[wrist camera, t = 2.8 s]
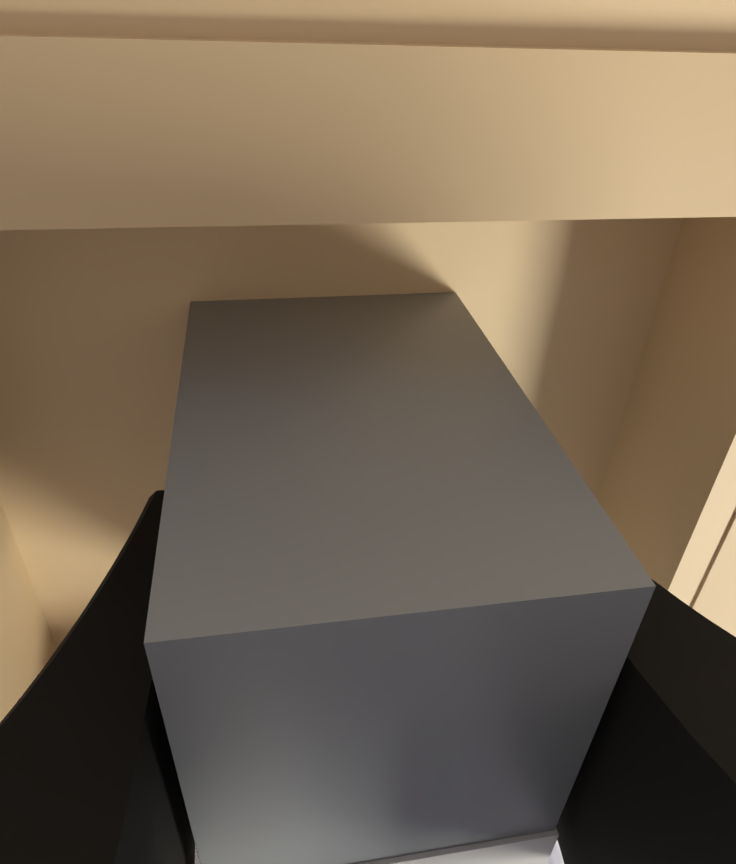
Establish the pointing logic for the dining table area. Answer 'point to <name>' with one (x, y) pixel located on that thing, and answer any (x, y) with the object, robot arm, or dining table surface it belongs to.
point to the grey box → (376, 590)
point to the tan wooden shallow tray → (364, 243)
